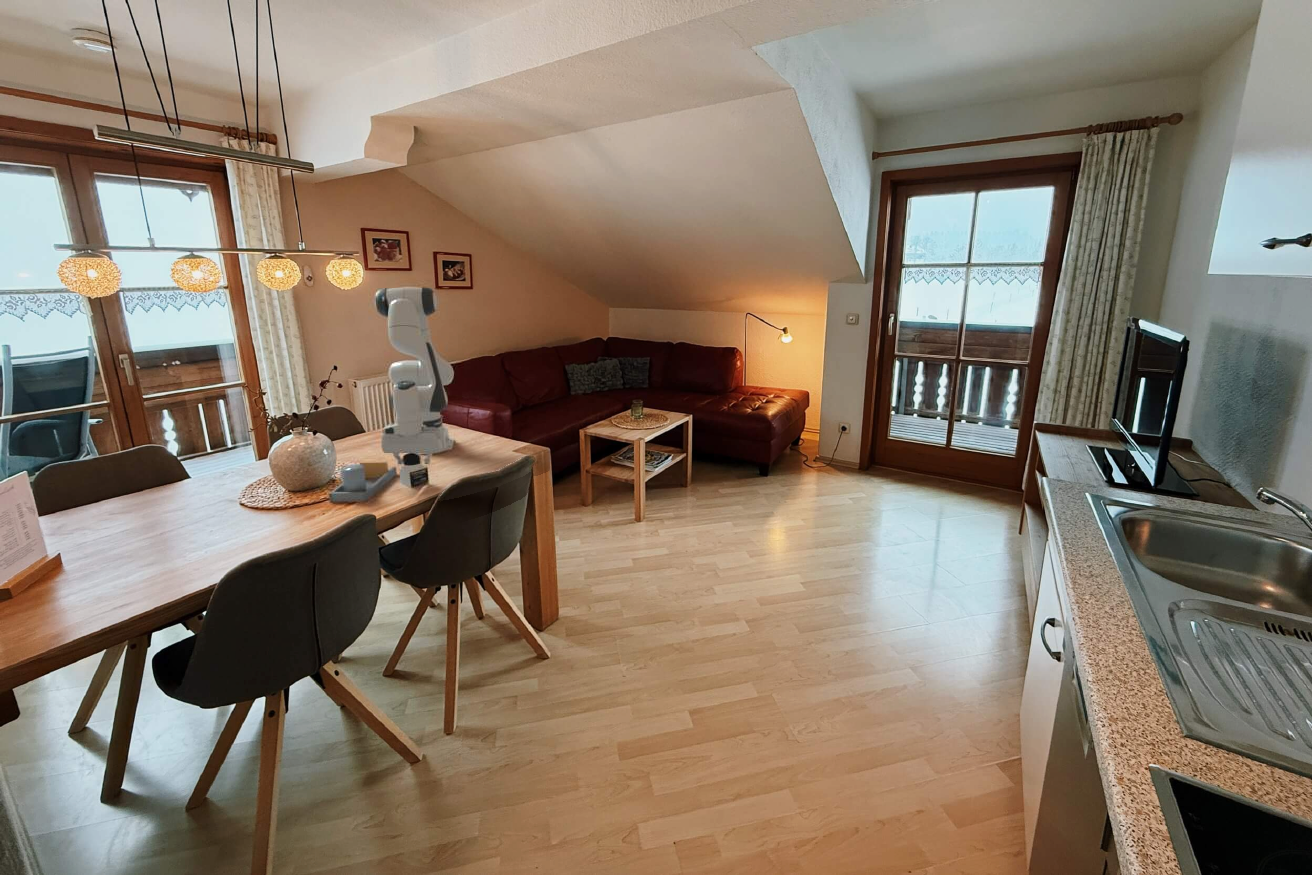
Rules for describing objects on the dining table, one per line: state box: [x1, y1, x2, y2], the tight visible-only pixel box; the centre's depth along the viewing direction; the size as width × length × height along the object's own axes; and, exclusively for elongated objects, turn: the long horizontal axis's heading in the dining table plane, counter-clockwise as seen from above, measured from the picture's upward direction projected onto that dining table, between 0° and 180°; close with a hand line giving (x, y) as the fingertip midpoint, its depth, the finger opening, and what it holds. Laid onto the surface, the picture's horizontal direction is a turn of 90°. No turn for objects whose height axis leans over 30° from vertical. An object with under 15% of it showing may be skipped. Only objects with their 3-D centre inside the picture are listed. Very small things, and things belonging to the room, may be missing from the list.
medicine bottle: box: [398, 453, 430, 489], centre depth 208 cm, size 7×7×12 cm
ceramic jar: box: [340, 464, 367, 492], centre depth 196 cm, size 7×7×10 cm
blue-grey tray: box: [328, 466, 398, 503], centre depth 204 cm, size 26×12×4 cm, turn 3°
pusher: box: [359, 461, 389, 478], centre depth 212 cm, size 1×9×6 cm, turn 93°
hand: (414, 463), depth 208 cm, fingers open, 8 cm apart
